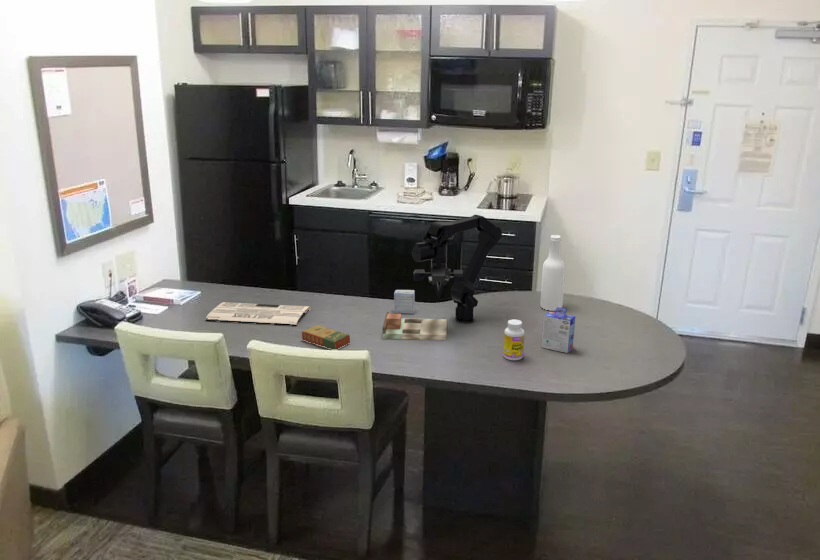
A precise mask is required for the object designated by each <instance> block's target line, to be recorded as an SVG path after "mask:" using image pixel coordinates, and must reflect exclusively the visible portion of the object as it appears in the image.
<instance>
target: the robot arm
mask: <svg viewBox="0 0 820 560" xmlns="http://www.w3.org/2000/svg"><path fill="white" fill-rule="evenodd" d="M472 229H473V230H474V229H475V230H476V231H477V232H478V234H477V242H478V243H477V247H476V248H475V250H474V252H473V255H472V257H471V259H470V261H469V262H468V265H467V267H466V269H465V271H464V270H463V269H453V272H451V268H448V266H447V265H448V264H447V263H448V262H447V261H448V245H452V244H453V242H452V241H451V240H450V239H451V238H452V237H453V236H454V235H456V234H458V233H462V232H466V231H469V230H472ZM502 235H503V232H502V228H501V227H500V226H496V225H495V224H493V223H492V222H491V221H490V220H488V219H487V218H486V217H485V216H482V215H480V214H473V215H471V216H466V217H464V218H460V219H457V220H452V221H433V222H431V223H430V225H429V226H428V230H427V231H426V233H425V234H424V237H423V239H422V242H415V244H414V246H413V248H412V250H411V256H412V259H413V261H414V262H415V263H419V262H425V261H429V260H430V261H431V262H430V272H429V271H428V272H425V269H423V268H422V269H420V268H418V269H414V270H413V274H412V281H414V282H422V281H423V280H424V279H425V278H427V279H428V283H429V284H432V286H433V288H434V290H435V295H436V297H437V298H441V295H442V293H443V290H444V287H445V285H446V284H449V281H450V279H453V281H454V282H453V284H452V285H451V288H450V297H451V299H452V301H453V303H455V304H456V306H455V312H454V313H455V316H454V317H455V320H456V322H457V323H474V320H475V319H474V309H475V307H478V303H479V300H478V299H477V298H476V297H474V294H475V282H476V281H477V278H478V276H479V273H480V272H481V269H482V267H483V265H484V263H485V261H486V259H487V257H488V255H489V253H490V251H491V249H493V248H494V247H495V246H497V244H498V243H499V242H500V240H501V238H502ZM439 283H440V284H439Z"/></svg>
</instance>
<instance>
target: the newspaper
mask: <svg viewBox="0 0 820 560" xmlns="http://www.w3.org/2000/svg"><path fill="white" fill-rule="evenodd" d="M305 310H306V311H307V310H309V311H311V306H307V305H286V304H285V305H284V304H267V303H250V302H249V303H246V302H229V301H228V302H225V301H223V302H221V303H219V304H218V305H217V306H215V307H214V308H213V309H212V310H211V311H210V312H209V313H208V314H207V316H206V318H208V319H218V320H228V321H241V322H259V323H281V324H294V325H297V326H298V321H299V320H300V319H301V317H302V315H304V314H303V313H304V312H305ZM206 318H205V319H206Z"/></svg>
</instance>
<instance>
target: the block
mask: <svg viewBox="0 0 820 560" xmlns="http://www.w3.org/2000/svg"><path fill="white" fill-rule="evenodd" d="M401 318H402V313H389V314H388V315H387V329H400V328H401Z"/></svg>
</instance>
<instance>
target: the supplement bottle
mask: <svg viewBox="0 0 820 560" xmlns="http://www.w3.org/2000/svg"><path fill="white" fill-rule="evenodd" d="M522 327H523V322H522V320H520V319H515V318H514V319H513V318H512V319H508V321H507V327H506V328H505V329H504V333H503V334H504V337H503V357H504V358H505V359H507V360H509V361H520V360H521V359H523V357H524V345H525V330H524V329H523V328H522Z"/></svg>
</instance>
